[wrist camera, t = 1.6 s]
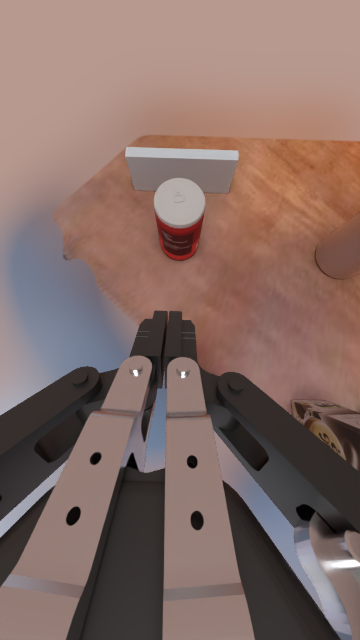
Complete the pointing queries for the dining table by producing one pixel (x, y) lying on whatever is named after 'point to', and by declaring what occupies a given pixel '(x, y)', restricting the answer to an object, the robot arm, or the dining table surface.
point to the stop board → (181, 167)
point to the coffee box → (332, 426)
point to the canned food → (179, 216)
